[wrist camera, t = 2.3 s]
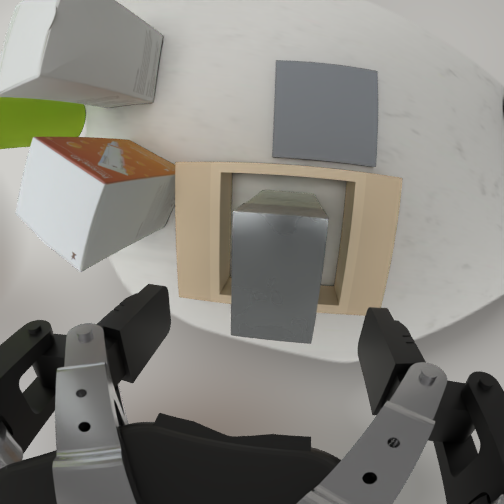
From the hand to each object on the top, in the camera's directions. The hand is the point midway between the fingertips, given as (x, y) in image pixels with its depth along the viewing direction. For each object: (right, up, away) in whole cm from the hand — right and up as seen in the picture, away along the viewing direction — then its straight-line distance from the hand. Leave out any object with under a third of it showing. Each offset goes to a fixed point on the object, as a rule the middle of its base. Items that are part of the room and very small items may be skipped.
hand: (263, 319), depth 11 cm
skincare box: (-12, +21, +12) cm, 28 cm away
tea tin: (+3, +5, +15) cm, 16 cm away
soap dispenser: (-23, +18, +15) cm, 33 cm away
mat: (+6, +15, +11) cm, 19 cm away
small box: (-11, +10, +16) cm, 22 cm away
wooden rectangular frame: (+3, +5, +15) cm, 16 cm away
